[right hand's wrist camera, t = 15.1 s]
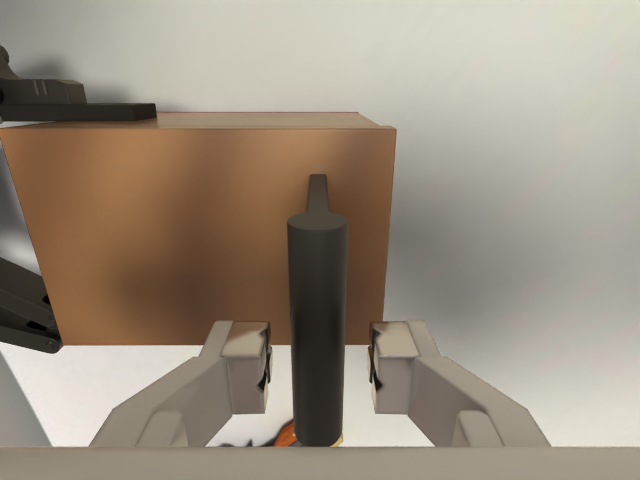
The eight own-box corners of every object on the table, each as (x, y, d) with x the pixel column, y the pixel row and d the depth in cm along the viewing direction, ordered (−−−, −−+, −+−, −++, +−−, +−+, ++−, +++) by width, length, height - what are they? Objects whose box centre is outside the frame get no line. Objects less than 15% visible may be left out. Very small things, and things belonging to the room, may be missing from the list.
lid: (391, 125, 16) (461, 159, 8) (377, 330, 20) (415, 487, 12) (19, 125, 16) (-270, 159, 8) (77, 330, 20) (-80, 488, 12)
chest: (357, 112, 26) (381, 125, 16) (352, 250, 30) (369, 330, 20) (135, 112, 26) (20, 125, 16) (158, 250, 30) (78, 330, 20)
